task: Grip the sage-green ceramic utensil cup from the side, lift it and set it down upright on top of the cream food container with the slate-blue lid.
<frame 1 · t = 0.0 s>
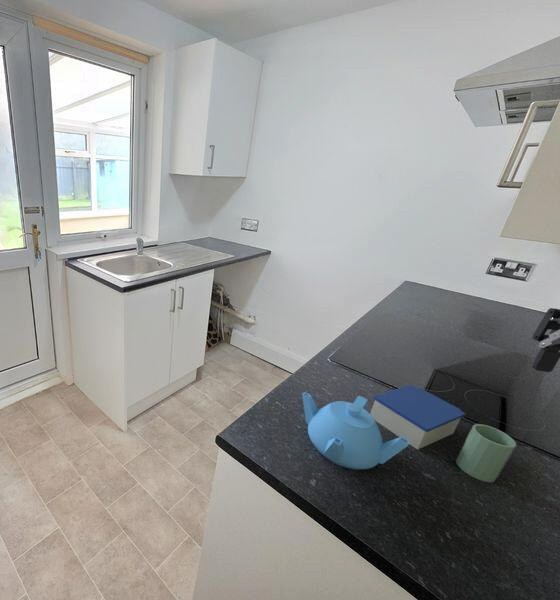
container: (410, 424, 75), on the counter
teapot: (340, 448, 67), on the counter
utensil cup: (475, 469, 64), on the counter
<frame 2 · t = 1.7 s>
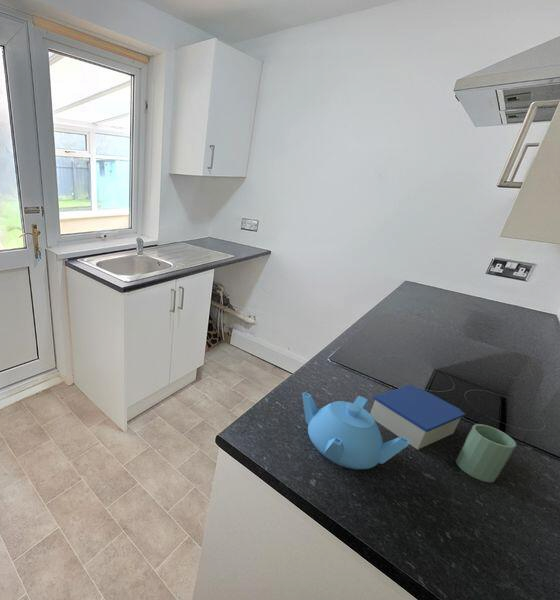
nothing on the counter moved.
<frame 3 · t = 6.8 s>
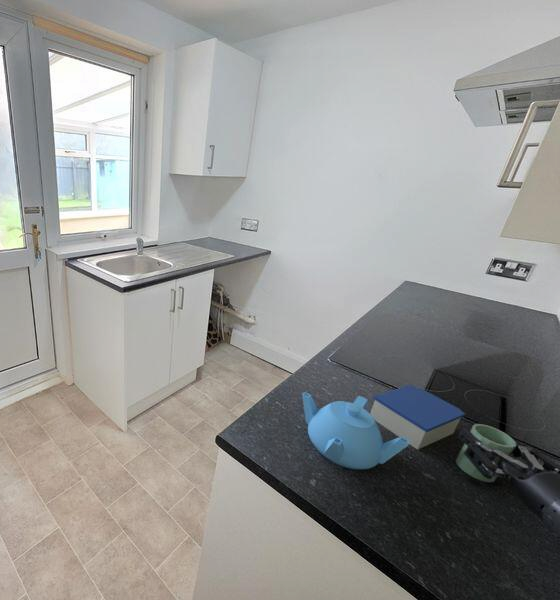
hand: (478, 433, 64), 7 cm above the counter, tool horizontal, fingers closed on utensil cup, 6 cm apart
utensil cup: (475, 469, 64), on the counter, touching gripper
everything else where it was.
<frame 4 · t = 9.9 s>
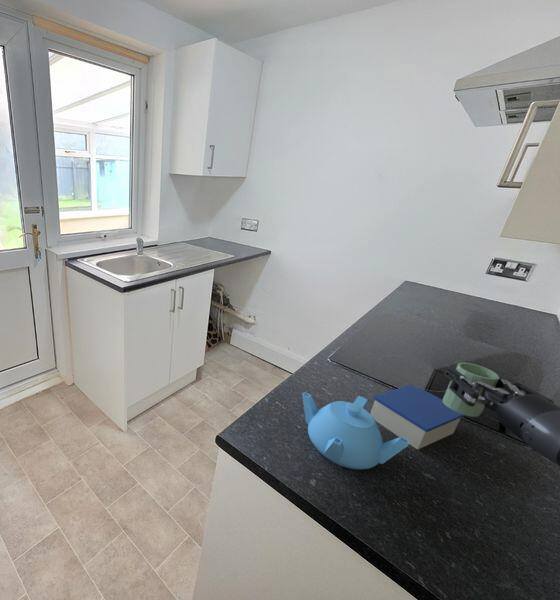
hand: (464, 372, 65), 18 cm above the counter, tool horizontal, fingers closed on utensil cup, 6 cm apart
utensil cup: (460, 407, 65), point 11 cm above the counter, touching gripper
everything else where it was.
when the fingers open (13 cm above the counter, at t = 13.0 s): utensil cup stays where it is, resting on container.
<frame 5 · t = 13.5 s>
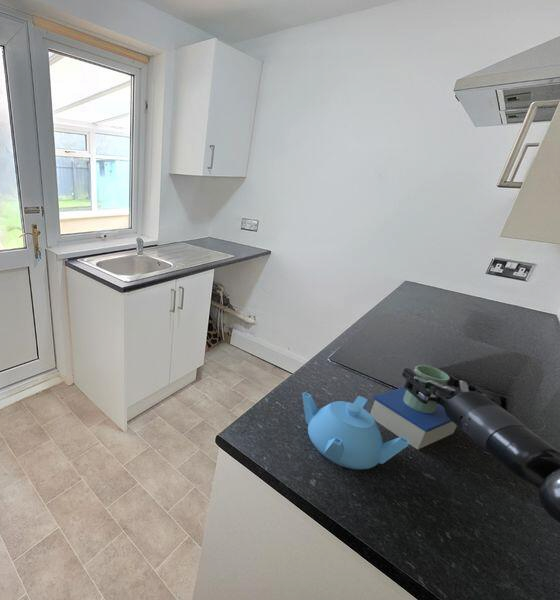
hand: (424, 373, 72), 13 cm above the counter, tool horizontal, fingers open, 8 cm apart
utensil cup: (418, 404, 73), point 6 cm above the counter, touching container
everything else where it was.
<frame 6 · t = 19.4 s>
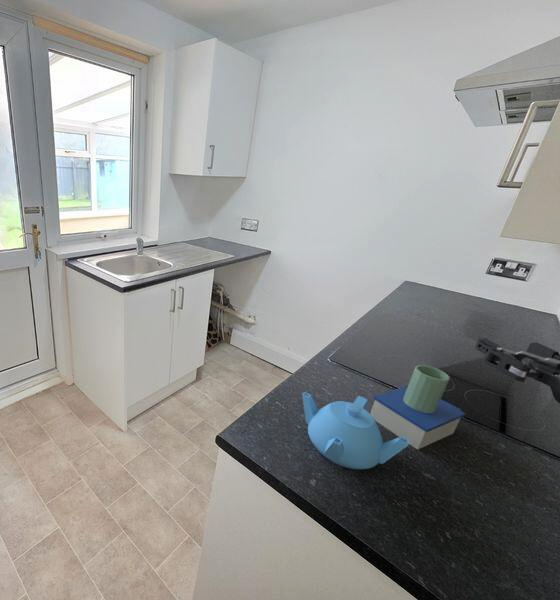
hand: (504, 344, 55), 28 cm above the counter, tool horizontal, fingers open, 8 cm apart
nothing on the counter moved.
at the end: utensil cup inside the target area on the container (0.1 cm from its centre), point 6.0 cm above the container's base; utensil cup tilted 0°; the gripper is holding nothing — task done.
